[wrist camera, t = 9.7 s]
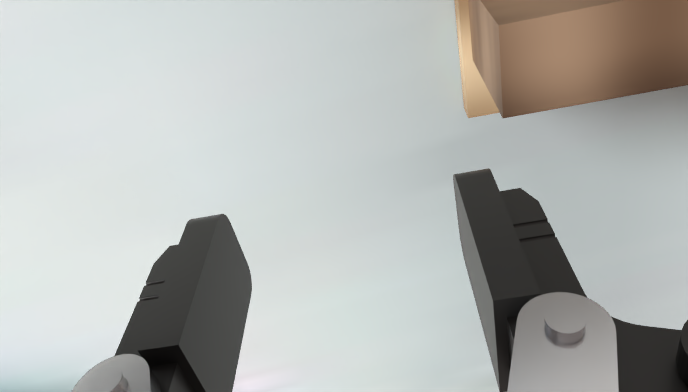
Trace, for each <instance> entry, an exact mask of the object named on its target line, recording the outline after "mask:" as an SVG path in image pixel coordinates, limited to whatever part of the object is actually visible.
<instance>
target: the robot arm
mask: <svg viewBox="0 0 688 392" xmlns="http://www.w3.org/2000/svg"><path fill="white" fill-rule="evenodd" d="M453 180H454V190H455V199H456V207H457V216H458V225H459V233H460V240H461V246H462V251H463V256H464V260H465V264H466V268H467V271H468V275H469V279H470V282H471V286H472V290H473V294H474V297H475V301H476V305H477V309H478V312H479V316H480V320H481V323H482V327H483V331H484V335H485V338H486V342H487V346H488V350H489V353H490V357H491V361H492V365H493V368H494V372H495V376H496V379H497V383H498V387H499V391H500V392H688V320H687V322H686V323H685V324H684V326H683V328H682V330H675V329H666V328H657V327H649V326H641V325H635V324H631V323H627V322H623V321H621V320H618V319H616V318H613V317H611V316H610V315H609V313H608V312H607V311H606V310H605V309H604V308H603V307H602V306H600V305H599V304H598V303H596V302H595V301H593V300H591V299H589V298H587V296H586V295H585V293H584V291H583V289H582V287H581V285H580V283H579V281H578V279H577V277H576V275H575V273H574V271H573V269H572V267H571V265H570V263H569V261H568V259H567V257H566V255H565V253H564V251H563V249H562V247H561V245H560V243H559V241H558V239H557V237H556V238H555V233H554V231H553V229H552V227H551V225H550V223H548V221H547V217H546V215H545V213H544V211H543V209H542V207H541V205H540V203H539V201H537V200H536V199H535V198H533V197H532V196H530V195H529V194H528V193H526V192H525V191H524V190H522V189H521V188H518V189H512V190H506V191H500V192H499V189H498V187H497V184H496V182H495V180H494V177H493V175H492V172H491V170H490V169H483V170H477V171H471V172H466V173H460V174H454V175H453ZM251 291H252V282H251V274H250V270H249V266H248V264H247V261H246V259H245V257H244V254H243V252H242V249H241V247H240V245H239V242H238V240H237V237H236V235H235V233H234V230H233V228H232V226H231V223H230V221H229V219H228V217H227V216H226V215H224V214H220V215H214V216H208V217H202V218H196V219H191V220H189V221H188V222H187V224H186V227H185V230H184V232H183V235H182V237H181V240H180V242H179V245H174V246H169V248H168V249H167V250H166V251H165V252H164V253H163V254H162V255H161V256H160V258H159V259H158V260H157V261H156V262H155V263H154V265H153V267H152V269H151V272H150V274H149V276H148V279H147V281H146V286H144V288H143V290H142V293H141V295H140V297H139V298H140V301H139V302H137V304H136V307H135V309H134V312H133V314H132V316H131V319H130V321H129V323H128V326H127V328H126V330H125V333H124V335H123V337H122V340H121V342H120V344H119V347H118V349H117V351H116V354H115V356H114V357H111V358H108V359H106V360H104V361H102V362H100V363H99V364H97V365H96V366H94V367H93V368H92V369H90V370H89V371H88V372H87V373H86V374H85V375H84V376H83V377H82V378H81V379H80V380H79V381H78V382H77V384H76V385H75V387H74V388H73V390H72V392H232V389H233V384H234V379H235V374H236V369H237V364H238V359H239V353H240V348H241V343H242V338H243V333H244V328H245V323H246V318H247V313H248V308H249V303H250V298H251Z"/></svg>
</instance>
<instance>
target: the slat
mask: <svg viewBox="0 0 688 392" xmlns="http://www.w3.org/2000/svg"><path fill="white" fill-rule="evenodd" d="M468 5H469V18H470V31H471V45H472V58H473V62H474V64H475V65H476V67H477V69H478V71H479V73H480V75H481V77H482V79H483V81H484V83H485V85H486V87H487V89H488V90H489V92H490V94H491V96H492V98H493V100H494V102H495V104H496V106H497V108H498V110H499V112H500V114H501V116H502V117H503V118H507V117H513V116H518V115H524V114H529V113H535V112H540V111H546V110H551V109H557V108H563V107H568V106H574V105H579V104H585V103H590V102H596V101H601V100H607V99H612V98H618V97H623V96H629V95H634V94H640V93H646V92H651V91H657V90H662V89H668V88H673V87H679V86H684V85H688V0H468Z"/></svg>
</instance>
